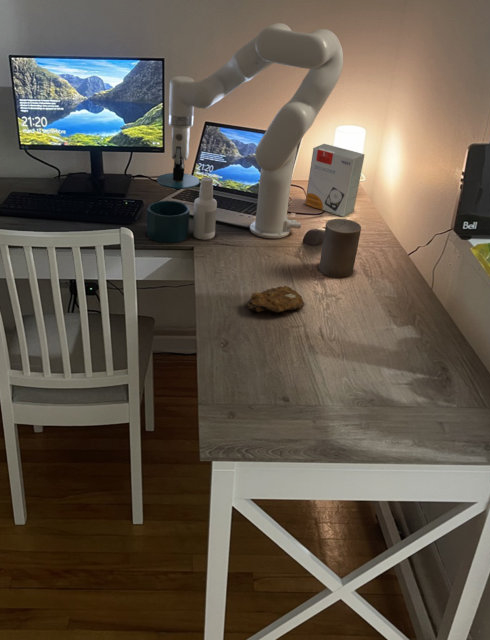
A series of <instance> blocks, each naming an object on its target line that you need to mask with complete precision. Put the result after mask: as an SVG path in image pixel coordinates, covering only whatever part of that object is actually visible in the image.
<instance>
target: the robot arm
mask: <svg viewBox="0 0 490 640" xmlns="http://www.w3.org/2000/svg"><path fill="white" fill-rule="evenodd" d="M273 64H278V65H283V66H288V67H294V68H299V69H305V70H308V72H307V73H306V75H305V76H304V78H303V79H302V81H301V83H300V85H299V87H298V88H297V89H296V91H295V93H294V94H293V96H292V97H291V98H290V99H289V100H288V101H287V103H285V104H284V105H283V106H282V107H281V108H280V109H279V110H278V112H277V113H276V114H275V116H274V118H272V120H271V122H270V124H269V125H268V127H267V129H266V130H265V132H264V134H263V135H262V137H261V139H260V140H259V142H258V144H257V145H256V148H255V152H254V157H255V158H254V159H255V162H256V163H257V165H258V166H259V167H260V175H259V183H258V190H257V192H258V193H257V201H256V211H255V212H256V213H255V220H254V221H253V222H251V223H250V224H249V231H250V232H251V233H252V234H253V235H255V236H257V237H260V238H263V239H281V238H285V237H287V236H289V235H290V233H291V229H295V230H296V229H297V230H301V228H302V222H298V221H297V219H290V218H288V209H289V201H290V194H291V187H292V181H293V180H292V179H293V171H294V167H295V162H296V157H297V151H298V145H299V144H300V142H301V140H302V139H303V137H304V136H305V135H306V133H307V132H308V131H309V130H310V128H312V125H313V124H314V122H315V120H316V119H317V116H318V115H319V114H320V111H321V110H322V108H323V106H324V105H325V103H326V102H327V100H328V99H329V97H330V95H331V94H332V92H333V91H334V89H335V87H336V86H337V83H338V81H339V79H340V77H341V75H342V71H343V66H344V51H343V47H342V44H341V42H340V40H339V38H338V37H337V35H336V34H335V33H334V32H333V31H332V30H330V29H326V28H319V29H316V30H314V31H311V32H310V33H307V32H300V31H293V30H292V29H291V27H290V26H288V25H287V24H285V23H282V22H275V23H272V24H270V25H269V26H266V27H265V28H262V30H261V31H260V32H259V33H258V34H257V35H256V36H255V37H254V38H252V39H251V40H250V41H249V42H247V43H246V44H244V45H243V46H242V47H240V48H239V49H238V50H236V51H235V52H234V53H233V54H232V56H231V58H230V59H229V61H227V62H226V63H225V64H223V65H222V66H221V67H220V68H217V70H216V71H214V72H213V73H212V74H210V75H208V76H207V77H205V78H203V79H202V80H199V81H195V80H194V78H192V77H190V76H185V75H183V76H182V75H179V76H174V77H172V78H170V80H169V94H168V95H169V97H168V123H167V124H168V126H169V127H171V159H172V160H173V167H172V168H173V169H172V173H173V180H174V181H183V177H184V174H185V161H188V159H189V156H190V155H189V154H190V138H191V137H190V136H191V135H190V132H191V128H192V127H193V126H194V111H195V108H196V109H197V108H198V109H203V110H205V109H209V108H211V107H212V106H214V105H215V104H216V103H218V102H219V101H221V100H222V99H223V98H225V97H227V96H228V95H229V94H231V92H233V91H235V90H236V89H237V88H239V87H240V86H241V85H243V84H245V83H246V82H249V81H251V80H252V79H254V78H255V77H256V76H257V75H259V74H261V73H262V72H263V71H265V70H266V69H268V68H269V67H270V66H272V65H273ZM183 165H184V166H183Z"/></svg>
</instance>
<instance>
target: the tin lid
mask: <svg viewBox="0 0 490 640" xmlns="http://www.w3.org/2000/svg"><path fill="white" fill-rule="evenodd" d="M183 166H184V167H185V164H184V165H183ZM156 182H157V184H158V185H159V186H162V187H164V188H168V189H173V190H186V189H193V188H195V187H197V186H199V185H200V179H199V178H198V177H197V176H196V175H192V174H189V173H184V177H183V181H174V180H173V172H168V173H163V174H161V175H159V176H157V178H156Z"/></svg>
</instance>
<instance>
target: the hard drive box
mask: <svg viewBox="0 0 490 640" xmlns="http://www.w3.org/2000/svg"><path fill="white" fill-rule="evenodd" d="M365 156H366V155H365V154H364V153H361V152H358V151H353V150H350V149H346V148H342V147H339V146H335V145H331V144H327V143H322V144H320V145H317V146H315V147H313V148H312V155H311V162H310V169H309V175H308V183H307V188H306V195H305V201H304V205H306V206H309V207H312V208H315V209H318V210H322V211H325V212H328V213H331V214H333V215H337V216H340V217H343V218H344V217H345V216H347V215H350V214H352V213H353V212H355V206H356V201H357V196H358V191H359V185H360V181H361V176H362V170H363V165H364V161H365Z"/></svg>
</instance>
